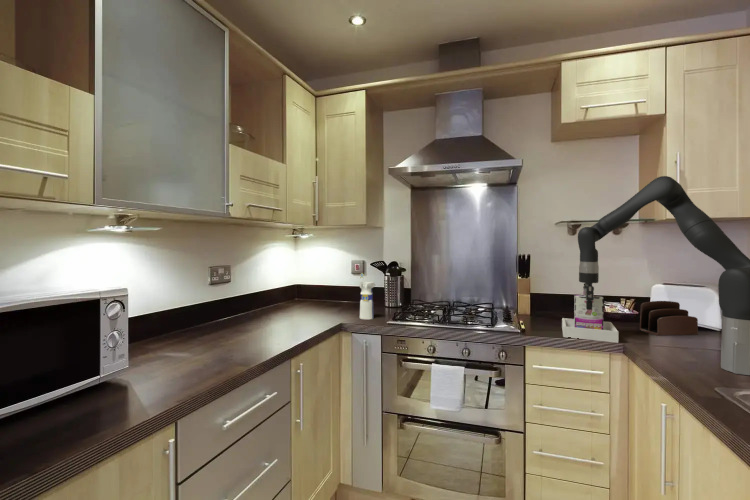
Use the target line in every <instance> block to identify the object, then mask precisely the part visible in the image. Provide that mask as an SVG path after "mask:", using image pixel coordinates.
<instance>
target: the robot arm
mask: <svg viewBox="0 0 750 500" xmlns="http://www.w3.org/2000/svg"><path fill="white" fill-rule="evenodd" d="M655 201H656V202H658V204H660V205H662V206H663V207H664V208H665V210H667V211H668V213H670V214H671V215H672V216H673V218H674V220H675V221H676V224H677V226H678V228H679V230H680V231H681V233H682V235H683V236H684V237H685V238H686V240H688V242H689V243H690V244H691V245H692V246H693V247H694V248H695V249H696V250H698V251H699V252H701V253H702V254H704V255H705V256H707V257H709V258H710V259H712V260H713V261H715V262H716V263H718V264H719V265H720V266H721V267H722V268H723V269H724V270H723V271H722V273H721V274H720V276H719V279H718V284H717V285H718V286H717V287H718V305H719V307H720V310H721V342H720V343H721V345H720V346H721V347H720V368H721V369H723V370H725V371H727V372H731V373H733V374H736V375H746V376H750V258H749V257H747V255H746V254H745V253H743V251H742V250H741V249H739V247H738V246H737V245H736V244H735V243H734V242H733V241H732V240H731V239H730V237H728V235H726V233H725V232H724V231H723V230H722V228H721V227H720V226H719V225H718V224H717V223H716V222H715V221H714V219H712V218H711V217H710V216H709V215H708V214H706V213H705V212H704V211H703V210H702V209H700V207H698V206H697V205H696V204H695V203H694V202H693V201H692V199H691V198H690V196H689V195H688V194H687V192H686V191H685V188H683V186H682V185H681V184H680V183H679V182H678V181H677V180H675V178H673V177H671V176H669V175H662V176H658V177H656V178H655V179H653V180H651V181H650V182H648V183H647V184H646V185H645V186H643V187H642V189H640V190H639V191H638V192H637V193H636V194H634V195H632V196H631V197H630V198H629V199H628V200H626V201H625V202H624V203H623V204H621V205H619V206H618V207H616V208H615V209H614V210H612V211H611V212H609V213H607V214H606V215H604V216H602V217H600V219H599V220H598V221H597V222H596V223H595V224H593V225H591V226H583V227H582V228H580V230H579V231H578V233H577V243H578V249H579V265H578V282H579V283H583V287H582V290H583V292H582V293H583V296H585V297H586V309H587V310H592V301H593V300H594V298H593V296H595V293H594V291H595V286H593V284H598V283H599V278H600V277H599V270H600V269H599V268H600V267H599V251H598V250H597V248H596V242H599V241H600V240H601V239H603V238H604V237H605V236H607V235H608V234H610V233H611V232H613V231H614V230H617V229H619V228H620V227H622V226H624V225H625V224H626V223H628V222H629V221H630V220H631V219H632V218H634V216H635V215H636V214H637V213H638V212H639V211H640V210H642V208H644V207H645V206H647V205H649V204H650V203H653V202H655Z"/></svg>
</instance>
